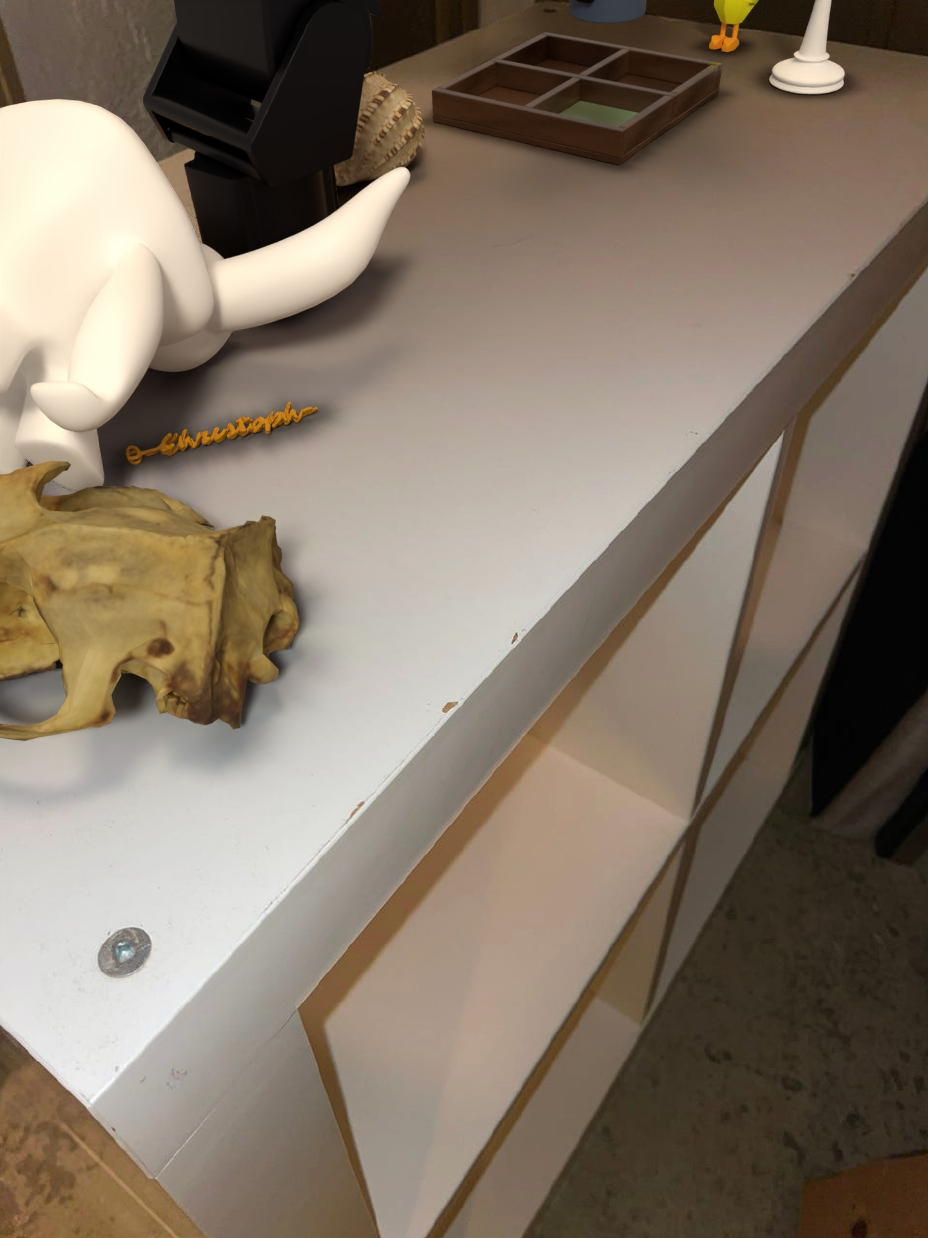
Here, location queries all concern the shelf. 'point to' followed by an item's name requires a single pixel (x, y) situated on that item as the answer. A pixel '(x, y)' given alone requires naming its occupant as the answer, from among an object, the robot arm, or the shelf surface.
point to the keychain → (218, 437)
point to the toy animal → (129, 278)
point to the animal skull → (135, 600)
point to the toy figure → (730, 21)
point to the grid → (578, 95)
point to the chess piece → (810, 60)
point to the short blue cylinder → (607, 10)
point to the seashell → (382, 132)
